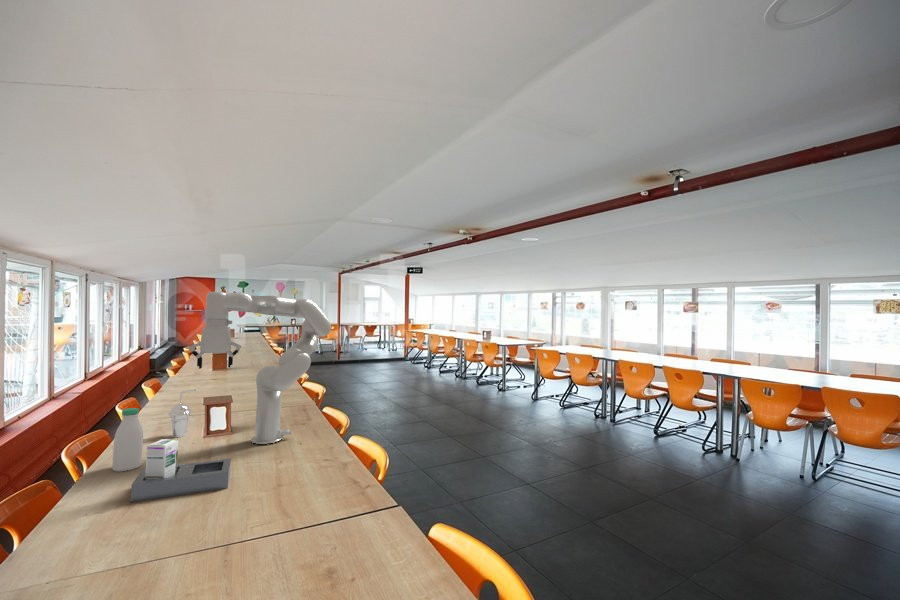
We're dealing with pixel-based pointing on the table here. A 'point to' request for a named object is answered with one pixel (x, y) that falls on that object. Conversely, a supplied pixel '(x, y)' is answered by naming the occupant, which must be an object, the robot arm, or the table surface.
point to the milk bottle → (128, 442)
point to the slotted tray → (183, 480)
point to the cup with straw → (180, 417)
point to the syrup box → (162, 459)
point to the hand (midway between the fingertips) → (215, 367)
